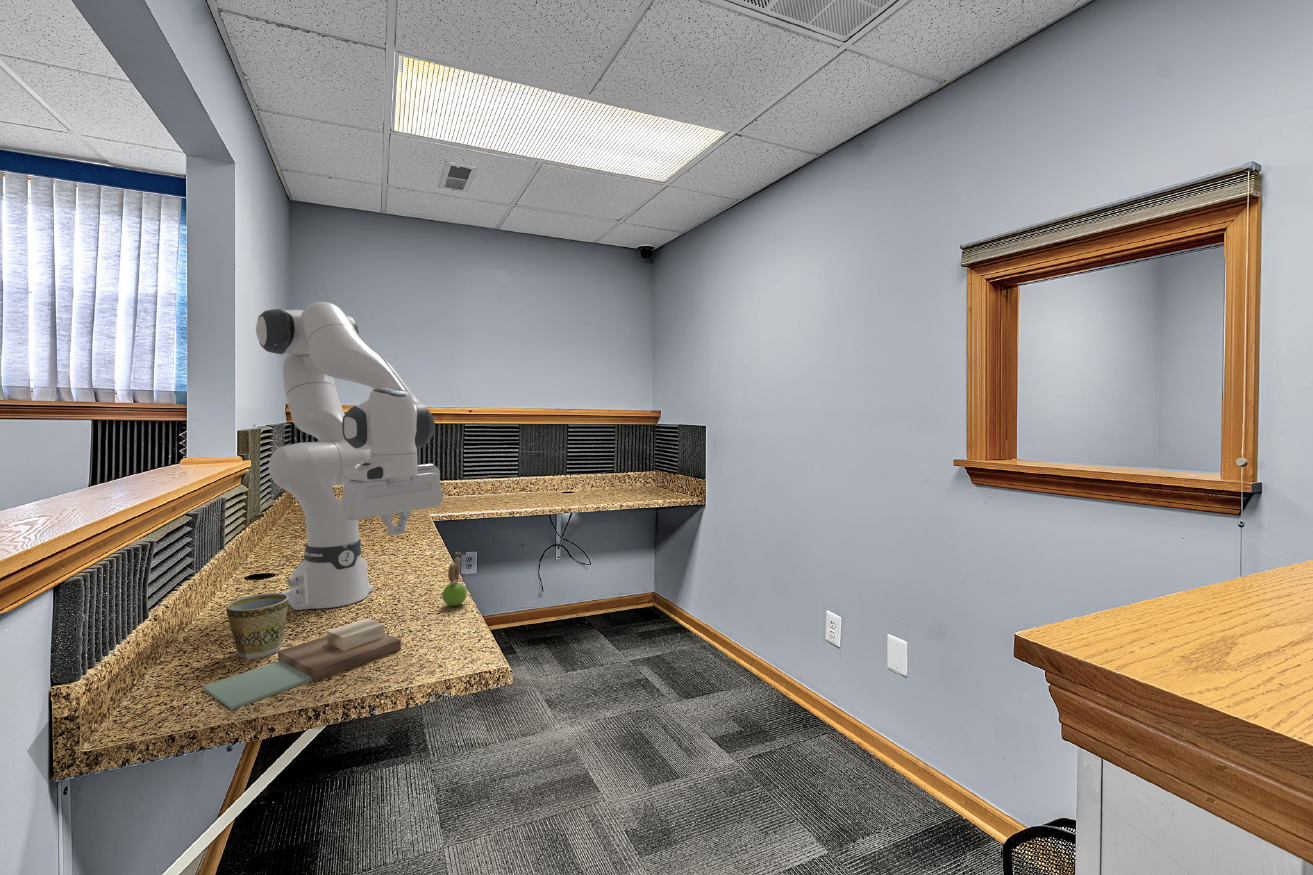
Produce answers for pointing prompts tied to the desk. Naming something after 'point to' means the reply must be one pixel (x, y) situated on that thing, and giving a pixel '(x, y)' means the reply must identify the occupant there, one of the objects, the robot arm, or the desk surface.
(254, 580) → the desk surface
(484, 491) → the desk surface
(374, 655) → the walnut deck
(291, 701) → the desk surface
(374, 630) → the ash tile
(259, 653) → the ceramic cup
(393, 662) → the desk surface
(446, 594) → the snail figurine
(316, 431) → the robot arm
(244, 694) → the rubber mat
